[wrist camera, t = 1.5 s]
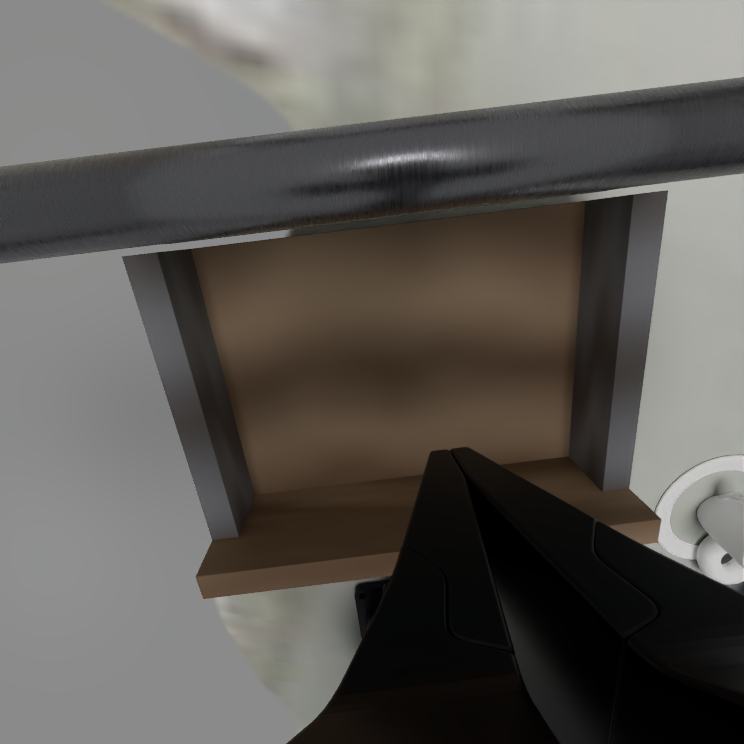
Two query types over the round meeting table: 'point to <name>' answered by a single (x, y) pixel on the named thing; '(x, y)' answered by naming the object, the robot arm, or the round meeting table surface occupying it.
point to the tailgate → (371, 170)
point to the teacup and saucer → (709, 524)
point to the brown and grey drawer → (400, 375)
